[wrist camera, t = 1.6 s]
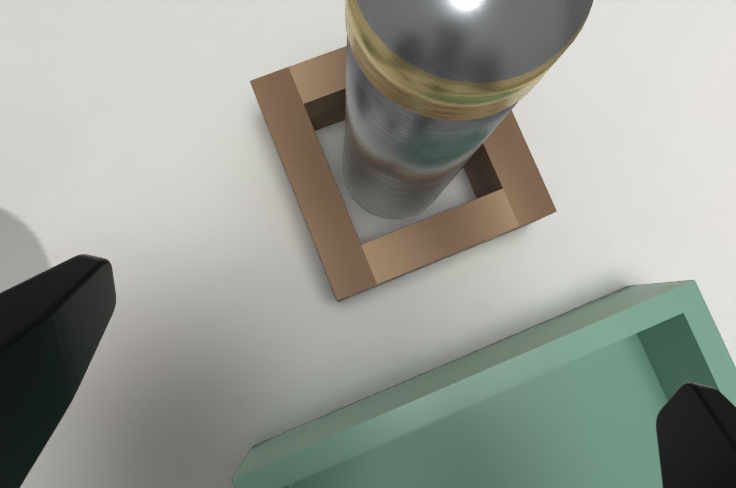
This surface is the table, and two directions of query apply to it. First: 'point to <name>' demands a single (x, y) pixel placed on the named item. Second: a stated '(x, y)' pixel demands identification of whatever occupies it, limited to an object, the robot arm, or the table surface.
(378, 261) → the socket block
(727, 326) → the table surface
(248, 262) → the table surface
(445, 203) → the table surface
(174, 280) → the table surface
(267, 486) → the parts tray
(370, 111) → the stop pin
